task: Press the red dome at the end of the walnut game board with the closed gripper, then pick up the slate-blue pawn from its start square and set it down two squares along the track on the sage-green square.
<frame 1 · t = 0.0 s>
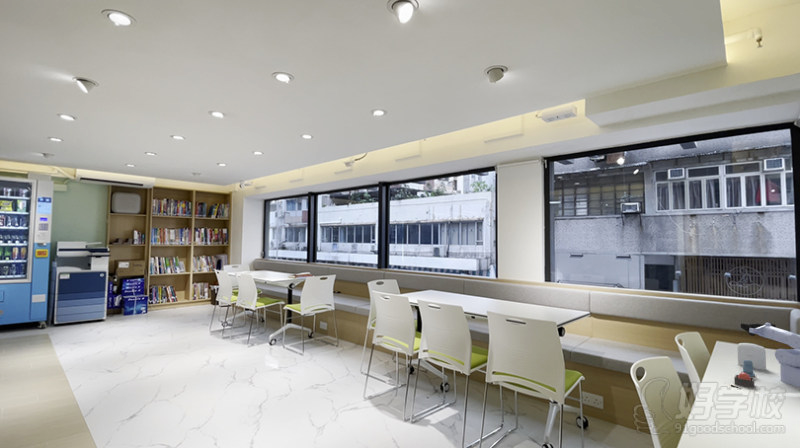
hand: (748, 325, 182), 22 cm above the table, tool horizontal, fingers open, 7 cm apart
game board: (746, 382, 164), on the table
dome: (744, 377, 158), point 4 cm above the table, slide at 0.0 cm
pawn: (748, 375, 171), point 1 cm above the table, touching game board
photo printer: (751, 369, 184), on the table
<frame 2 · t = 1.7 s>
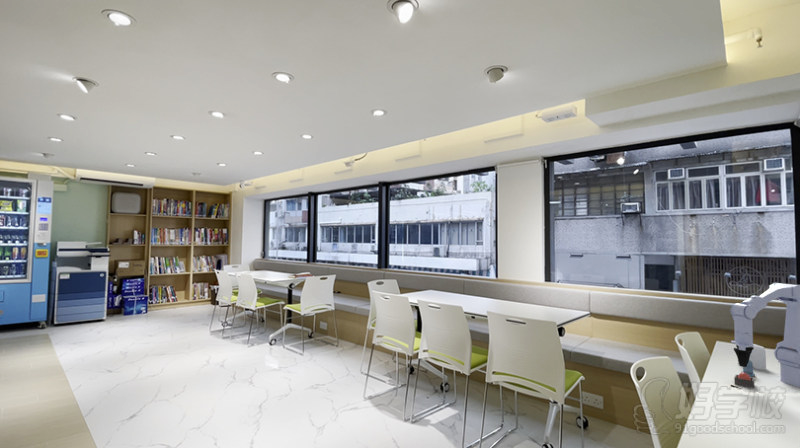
hand: (743, 364, 159), 9 cm above the table, tool pointing down, fingers open, 7 cm apart
nothing on the table moved.
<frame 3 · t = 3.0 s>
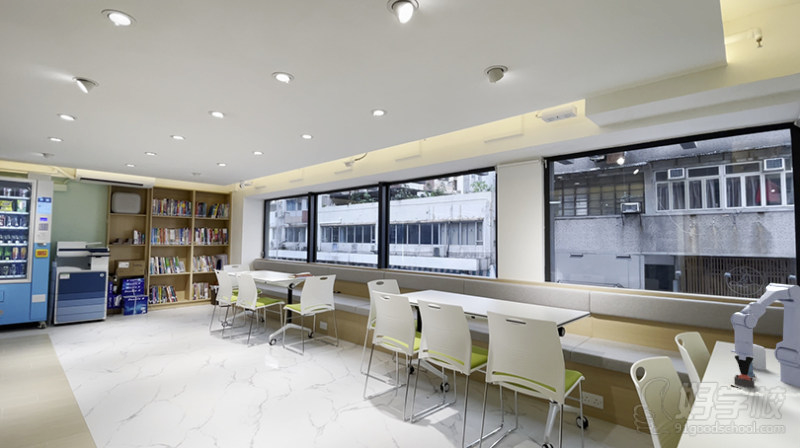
hand: (744, 374, 158), 6 cm above the table, tool pointing down, fingers closed, pressing on dome
dome: (744, 378, 158), point 4 cm above the table, slide at 0.5 cm, touching gripper
everything else where it was.
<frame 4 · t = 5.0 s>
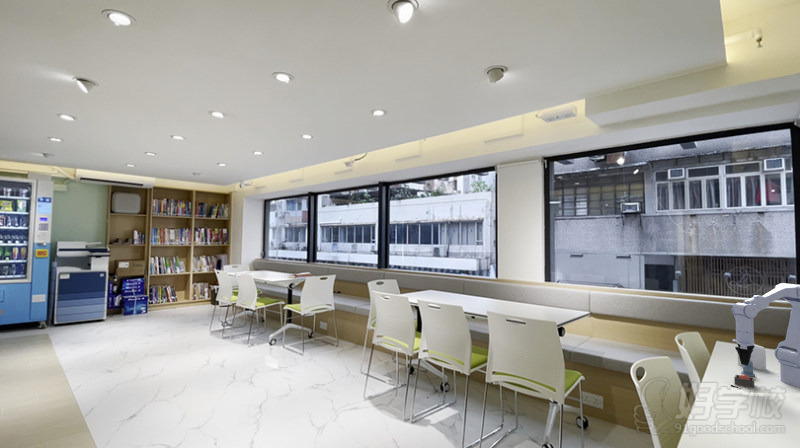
hand: (745, 363, 161), 9 cm above the table, tool pointing down, fingers open, 7 cm apart
dome: (744, 379, 158), point 3 cm above the table, slide at 0.8 cm
everything else where it was.
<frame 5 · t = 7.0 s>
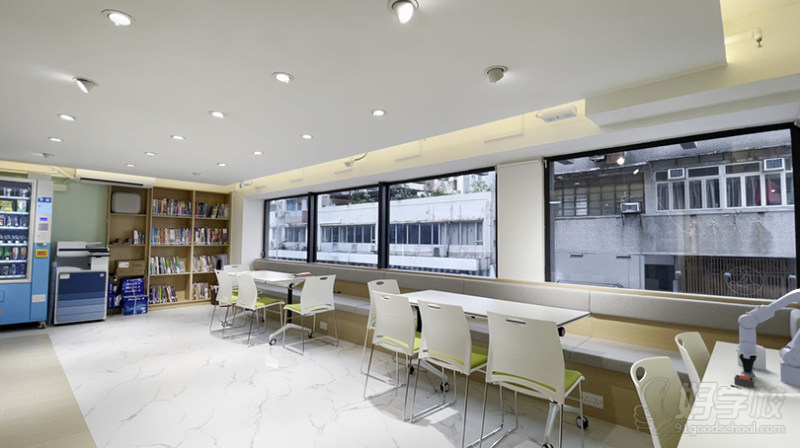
hand: (748, 371, 171), 3 cm above the table, tool pointing down, fingers closed on pawn, 3 cm apart
pawn: (748, 375, 171), point 1 cm above the table, touching game board, gripper
everything else where it was.
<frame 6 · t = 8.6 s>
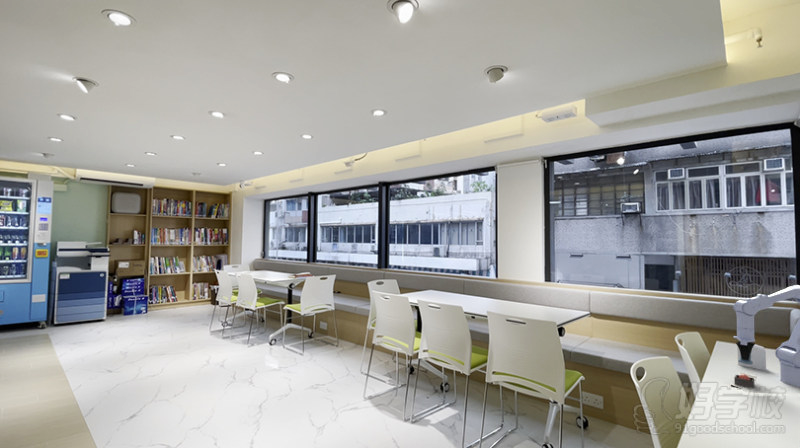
hand: (745, 359, 165), 10 cm above the table, tool pointing down, fingers closed on pawn, 3 cm apart
pawn: (745, 362, 165), point 8 cm above the table, touching gripper
everything else where it was.
when the fingers open (4 cm above the table, at t = 10.3 s): pawn drops 1 cm, resting on game board.
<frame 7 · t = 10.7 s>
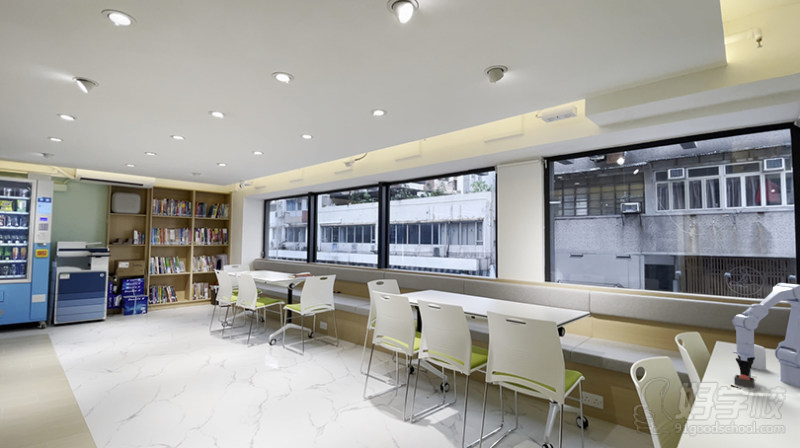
hand: (745, 374, 163), 4 cm above the table, tool pointing down, fingers open, 7 cm apart
pawn: (745, 381, 163), point 1 cm above the table, touching game board
everything else where it was.
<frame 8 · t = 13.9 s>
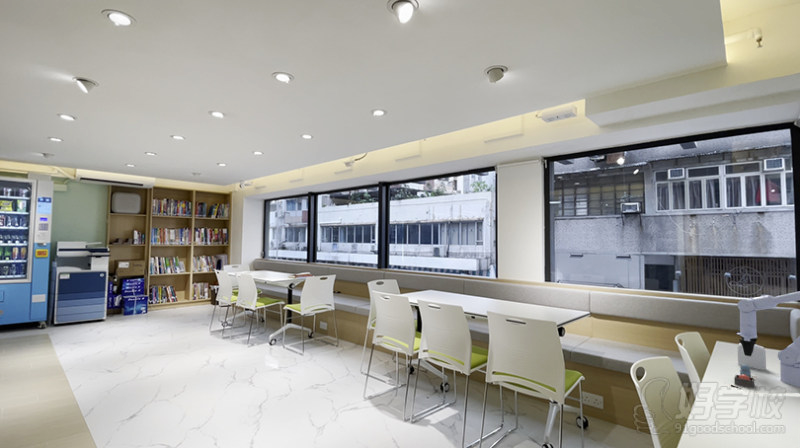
hand: (748, 354, 176), 9 cm above the table, tool pointing down, fingers open, 7 cm apart
nothing on the table moved.
at the end: pawn 0.1 cm from the target spot, point 1.2 cm above the table; pawn tilted 0°; dome slide at 0.8 cm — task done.
